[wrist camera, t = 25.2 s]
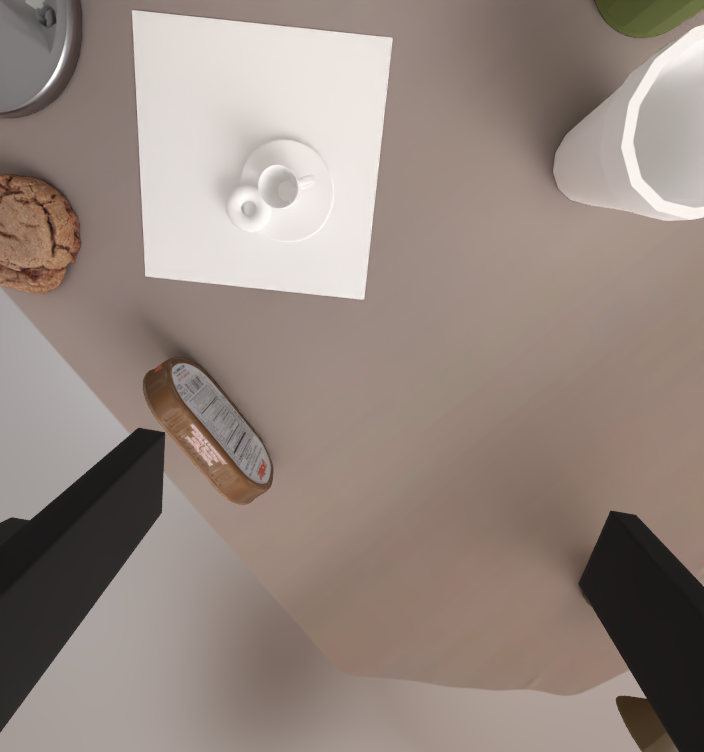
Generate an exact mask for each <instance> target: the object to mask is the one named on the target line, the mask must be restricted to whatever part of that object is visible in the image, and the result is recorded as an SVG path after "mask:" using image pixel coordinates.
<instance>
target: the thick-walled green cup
mask: <svg viewBox="0 0 704 752" xmlns="http://www.w3.org/2000/svg"><path fill="white" fill-rule="evenodd" d="M595 2H596V5H597V7H598V10H599V12H600V13H601V15H602V17H603V18H604V19H605V21H606V22H607V23H608V24H609V25H610V26H611V27H612V28H613V29H615V30H617V31H618V32H620V33H622V34H624V35H627V36H631V37H638V38H645V37H653V36H657V35H660V34H663V33H665V32H667V31H669V30H671V29H673V28H675V27H676V26H678V25H679V24H681V23H682V22H684V21H686V20H687V19H689V18H691V17H692V16H694V15H695V14H697V13H698V12H700V11H701V10H703V9H704V0H595Z"/></svg>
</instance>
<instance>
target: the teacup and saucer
mask: <svg viewBox="0 0 704 752" xmlns="http://www.w3.org/2000/svg"><path fill="white" fill-rule="evenodd" d="M334 200H335V186H334V180H333V176H332V174H331V171H330V169H329V167H328V165H327V163H326V162H325V160H324V159H323V158H322V156H321V155H320V154H319V153H318V152H317V151H316V150H314V149H313V148H312V147H311V146H309V145H307V144H306V143H304V142H301V141H299V140H295V139H290V138H279V139H274V140H271V141H268V142H266V143H264V144H262V145H260V146H259V147H258V148H256V149H255V150H254V151H253V152H252V153H251V154H250V156H249V157H248V158H247V160H246V161H245V163H244V165H243V167H242V170H241V173H240V176H239V183H238V186H236V187H235V188H233V189H232V190H231V191H230V192H229V194H228V195H227V198H226V201H225V211H226V215H227V217H228V219H229V221H230V222H231V223H232V225H233V226H235V227H236V228H237V229H239V230H240V231H243V232H247V233H254V232H259V233H261V234H262V235H263V236H265V237H267V238H269V239H271V240H273V241H276V242H280V243H297V242H301V241H304V240H306V239H308V238H310V237H312V236H313V235H315V234H316V233H317V232H318V231H319V230H320V229H321V228H322V227H323V226H324V225H325V224H326V222H327V221H328V219H329V217H330V215H331V212H332V209H333V206H334Z"/></svg>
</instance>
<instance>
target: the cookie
mask: <svg viewBox="0 0 704 752" xmlns="http://www.w3.org/2000/svg"><path fill="white" fill-rule="evenodd" d="M79 226H80V225H79V223H78V217H77V215H76V214H75V213H74V211H73V210H72V209H71V208H70V204H69V202H68V201H67V200H66V198H65V197H64V196H63V195H62V194H61V193H60V192H59V191H58V190H56V189H55V188H54V187H52V186H51V185H49V184H47V183H45V182H44V181H43V180H39V179H36V178H33V177H20V176H17V175H14V174H3V175H0V285H1V286H5V287H8V288H13V289H19V290H22V291H26V292H30V293H35V294H45V293H48V292H49V291H50V290H53V289H55V288H56V287H58V286H59V285H60V284H61V282H62V281H63V279H64V277H65V274H66V269H67V265H68V264H69V263H75V258H76V255H77V253H78V251H79V249H80V245H81V241H80V234H79Z"/></svg>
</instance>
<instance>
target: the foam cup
mask: <svg viewBox="0 0 704 752" xmlns="http://www.w3.org/2000/svg"><path fill="white" fill-rule="evenodd" d="M553 174H554V177H555V180H556V183H557V186H558V189H559V190H560V191H561V192H562V193H563V194H564V195H565V196H566V197H567V198H568V199H569V200H572V201H576V202H580V203H584V204H589V205H594V206H600V207H606V208H612V209H618V210H624V211H630V212H632V213H635V214H639V215H644V216H648V217H652V218H656V219H660V220H664V221H672V220H693V219H698V218H702V217H704V25H702V26H698V27H695V28H693V29H691V30H690V31H688V32H686V33H685V34H683V35H682V36H680V37H678V38H677V39H675V40H674V41H672V42H670V43H669V44H667V45H666V46H664V47H663V48H661V49H660V50H659V51H658V52H656V53H655V54H654V55H653V56H652V57H650V58H649V59H648V60H647V61H645V62H644V63H643V64H642V65H640V66H639V67H638V68H637V69H635V70H634V71H633V72H632V73H630V74H629V75H628V77H627V78H626V80H625V82H624V83H623V85H622V86H621V87H620V88H618V89H617V90H616V91H615V92H614V93H613V94H612V95H610V96H609V97H608V98H607V99H606V100H605V101H604V102H602V103H601V104H600V105H599V106H598V107H597V108H596V109H594V110H593V111H592V112H591V113H590V114H589V115H588V116H586V117H585V118H584V119H583V120H582V121H581V122H580V123H578V124H577V125H576V126H575V127H574V128H573V129H572V130H570V131H569V132H568V133H567V134H566V135H565V137H564V139H563V140H562V142H561V144H560V146H559V147H558V149H557V151H556V153H555V160H554V167H553Z"/></svg>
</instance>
